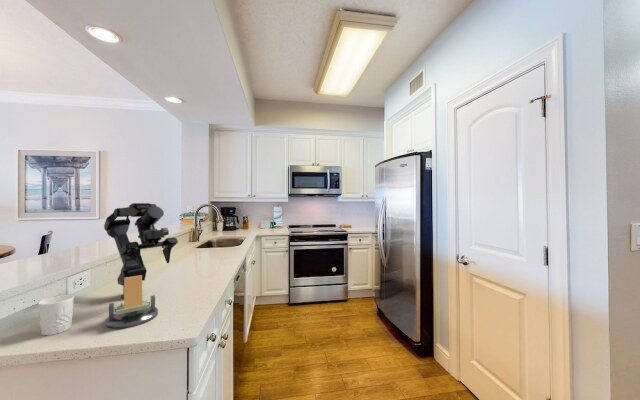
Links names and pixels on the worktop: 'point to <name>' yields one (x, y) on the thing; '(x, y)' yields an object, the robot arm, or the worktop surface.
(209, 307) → the worktop surface
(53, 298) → the white cup
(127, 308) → the orange and green block
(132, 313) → the base
